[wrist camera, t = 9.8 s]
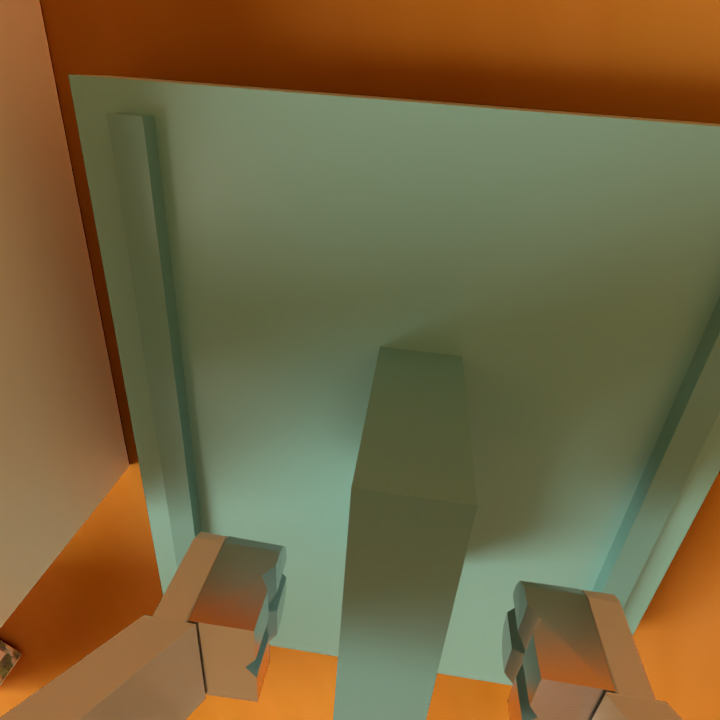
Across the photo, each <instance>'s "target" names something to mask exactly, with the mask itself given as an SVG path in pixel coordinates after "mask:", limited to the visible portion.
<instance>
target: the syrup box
mask: <svg viewBox="0 0 720 720" xmlns="http://www.w3.org/2000/svg"><path fill="white" fill-rule="evenodd" d="M20 656H21V653H20V652H19V651H17V650H15V649H14V648H12V647H10V646H9V645H7V644H6V643H4V642H2V641H1V640H0V685H1V684H2V683H3V681H4V680H5V678H6V677H7V676H8V674H9V673H10V671H11V670H12V669H13V667H14V666H15V664H16V663H17V661H18V660H19V658H20Z"/></svg>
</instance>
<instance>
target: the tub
mask: <svg viewBox="0 0 720 720" xmlns="http://www.w3.org/2000/svg"><path fill="white" fill-rule="evenodd" d="M128 467H129V461H128V456H127V451H126V446H125V441H124V436H123V430H122V425H121V420H120V415H119V410H118V405H117V399H116V394H115V389H114V384H113V379H112V373H111V368H110V363H109V358H108V353H107V348H106V342H105V337H104V332H103V327H102V322H101V317H100V311H99V306H98V301H97V296H96V291H95V285H94V280H93V275H92V270H91V265H90V260H89V254H88V249H87V244H86V239H85V234H84V229H83V223H82V218H81V213H80V208H79V203H78V198H77V192H76V187H75V182H74V177H73V172H72V166H71V161H70V156H69V151H68V146H67V141H66V135H65V130H64V125H63V120H62V115H61V110H60V104H59V99H58V94H57V89H56V84H55V79H54V73H53V68H52V63H51V58H50V53H49V47H48V42H47V37H46V32H45V27H44V22H43V16H42V11H41V6H40V1H39V0H0V628H1V627H2V626H3V624H4V623H5V622H6V621H7V619H8V618H9V617H10V616H11V614H12V613H13V612H14V611H15V609H16V608H17V607H18V606H19V604H20V603H21V602H22V601H23V599H24V598H25V597H26V596H27V594H28V593H29V592H30V591H31V589H32V588H33V587H34V585H35V584H36V583H37V582H38V580H39V579H40V578H41V577H42V575H43V574H44V573H45V572H46V570H47V569H48V568H49V567H50V565H51V564H52V563H53V562H54V560H55V559H56V558H57V557H58V555H59V554H60V553H61V551H62V550H63V549H64V548H65V546H66V545H67V544H68V543H69V541H70V540H71V539H72V538H73V536H74V535H75V534H76V533H77V531H78V530H79V529H80V528H81V526H82V525H83V524H84V523H85V521H86V520H87V519H88V517H89V516H90V515H91V514H92V512H93V511H94V510H95V509H96V507H97V506H98V505H99V504H100V502H101V501H102V500H103V499H104V497H105V496H106V495H107V494H108V492H109V491H110V490H111V489H112V487H113V486H114V485H115V483H116V482H117V481H118V480H119V478H120V477H121V476H122V475H123V473H124V472H125V471H126V470H127V468H128Z"/></svg>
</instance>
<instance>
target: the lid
mask: <svg viewBox="0 0 720 720" xmlns="http://www.w3.org/2000/svg"><path fill="white" fill-rule="evenodd" d="M68 76H69V82H70V87H71V93H72V98H73V104H74V109H75V115H76V120H77V126H78V131H79V137H80V142H81V148H82V153H83V158H84V164H85V169H86V175H87V180H88V186H89V191H90V197H91V202H92V208H93V213H94V219H95V224H96V230H97V235H98V241H99V246H100V252H101V257H102V263H103V268H104V274H105V279H106V285H107V290H108V296H109V301H110V307H111V312H112V318H113V323H114V329H115V334H116V340H117V345H118V351H119V356H120V362H121V367H122V373H123V378H124V384H125V389H126V395H127V400H128V406H129V411H130V417H131V422H132V428H133V433H134V439H135V444H136V450H137V455H138V461H139V466H140V472H141V477H142V482H143V488H144V493H145V499H146V504H147V510H148V515H149V521H150V526H151V532H152V537H153V543H154V548H155V554H156V559H157V565H158V570H159V576H160V581H161V587H162V592H163V595H164V593H165V592H166V590H167V588H168V586H169V584H170V582H171V580H172V578H173V576H174V575H175V573H176V571H177V569H178V567H179V565H180V563H181V561H182V560H183V558H184V556H185V554H186V552H187V550H188V548H189V546H190V545H191V543H192V541H193V539H194V538H195V537H196V536H197V535H198V534H199V533H200V532H206V533H212V534H218V535H224V536H231V537H236V538H242V539H248V540H253V541H259V542H264V543H270V544H275V545H281V546H285V547H286V563H285V567H284V570H283V574H284V575H285V576H286V578H287V579H286V596H285V603H284V608H283V613H282V618H281V622H280V626H279V629H278V633H277V635H276V636H275V637H274V638H273V639H271V640H270V641H269V645H271V646H277V647H283V648H289V649H295V650H301V651H307V652H313V653H320V654H326V655H332V656H338V664H337V677H336V690H335V703H334V716H333V720H426V718H427V713H428V709H429V705H430V701H431V697H432V693H433V689H434V684H435V680H436V676H437V673H440V674H446V675H452V676H458V677H464V678H470V679H476V680H482V681H488V682H494V683H500V684H507V685H513V684H512V682H511V681H510V680H509V678H508V677H507V676H506V674H505V673H504V668H503V658H502V635H503V625H504V622H505V618H506V614H507V612H508V611H510V610H512V609H513V608H515V607H514V600H513V592H514V590H515V587H516V584H517V583H518V582H519V581H526V582H534V583H541V584H548V585H555V586H563V587H570V588H577V589H580V590H587V591H593V592H600V593H606V594H613V595H615V596H616V597H617V599H618V600H619V601H620V604H621V606H622V609H623V612H624V614H625V617H626V620H627V623H628V625H629V628H630V631H631V634H632V636H633V634H634V632H635V630H636V628H637V626H638V624H639V622H640V621H641V619H642V617H643V615H644V613H645V611H646V609H647V607H648V605H649V603H650V602H651V600H652V598H653V596H654V594H655V592H656V590H657V588H658V586H659V584H660V583H661V581H662V579H663V577H664V575H665V573H666V571H667V569H668V567H669V566H670V564H671V562H672V560H673V558H674V556H675V554H676V552H677V550H678V548H679V547H680V545H681V543H682V541H683V539H684V537H685V535H686V533H687V531H688V529H689V528H690V526H691V524H692V522H693V520H694V518H695V516H696V514H697V512H698V511H699V509H700V507H701V505H702V503H703V501H704V499H705V497H706V495H707V493H708V492H709V490H710V488H711V486H712V484H713V482H714V480H715V478H716V476H717V474H718V473H719V471H720V124H715V123H703V122H690V121H678V120H665V119H652V118H640V117H627V116H615V115H602V114H589V113H577V112H564V111H552V110H539V109H527V108H514V107H501V106H489V105H476V104H464V103H451V102H438V101H426V100H413V99H401V98H388V97H376V96H363V95H350V94H338V93H325V92H313V91H300V90H287V89H275V88H262V87H250V86H237V85H224V84H212V83H199V82H187V81H174V80H162V79H149V78H136V77H124V76H111V75H70V74H68Z"/></svg>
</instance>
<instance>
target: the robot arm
mask: <svg viewBox="0 0 720 720" xmlns="http://www.w3.org/2000/svg"><path fill="white" fill-rule="evenodd" d="M285 563H286V547H285V546H281V545H275V544H270V543H264V542H259V541H253V540H248V539H242V538H236V537H231V536H224V535H218V534H212V533H206V532H200V533H199V534H198V535H197V536H196V537H195V538H194V539H193V541H192V543H191V545H190V546H189V548H188V550H187V552H186V554H185V556H184V558H183V560H182V561H181V563H180V565H179V567H178V569H177V571H176V573H175V575H174V576H173V578H172V580H171V582H170V584H169V586H168V588H167V590H166V592H165V593H164V595H163V597H162V599H161V601H160V603H159V605H158V607H157V608H156V610H155V612H154V614H153V616H147V615H143V616H141V617H140V618H139V619H137V620H136V621H135V622H133V623H132V624H130V625H129V626H128V627H126V628H125V629H123V630H122V631H121V632H119V633H118V634H116V635H115V636H114V637H112V638H111V639H109V640H108V641H107V642H105V643H104V644H102V645H101V646H100V647H98V648H97V649H95V650H94V651H93V652H91V653H90V654H88V655H87V656H86V657H84V658H83V659H81V660H80V661H79V662H77V663H76V664H74V665H73V666H72V667H70V668H69V669H67V670H66V671H65V672H63V673H62V674H60V675H59V676H58V677H56V678H55V679H53V680H52V681H51V682H49V683H48V684H46V685H45V686H44V687H42V688H41V689H39V690H38V691H37V692H35V693H34V694H32V695H31V696H30V697H28V698H27V699H26V700H24V701H23V702H21V703H20V704H19V705H17V706H16V707H14V708H13V709H12V710H10V711H9V712H7V713H6V714H5V715H3V716H2V717H0V720H186V718H187V717H188V716H189V715H190V714H191V713H192V712H193V711H194V710H195V709H196V708H197V707H198V706H199V705H200V704H201V703H202V702H203V701H204V699H205V698H206V696H205V694H207V695H214V696H221V697H227V698H234V699H241V700H248V701H255V702H258V699H259V696H260V692H261V689H262V685H263V682H264V678H265V675H266V671H267V668H268V665H269V661H270V648H269V641H270V640H271V639H273V638H274V637H275V636H276V635H277V633H278V629H279V626H280V622H281V618H282V613H283V608H284V603H285V596H286V579H287V578H286V576H285V575H284V574H283V570H284V567H285ZM513 600H514V607H515V608H513V609H512V610H510V611H508V612H507V614H506V618H505V622H504V625H503V635H502V658H503V668H504V673H505V674H506V676H507V677H508V678H509V680H510V681H511V682H512V684H513V686H512V689H511V692H510V695H509V698H508V700H507V702H508V710H509V718H510V720H683V719H682V718H681V717H680V716H679V715H678V714H677V713H676V712H675V711H674V710H673V709H672V707H671V706H670V705H669V704H668V703H667V702H664V701H659V700H656V699H655V696H654V693H653V691H652V688H651V685H650V683H649V680H648V677H647V674H646V672H645V669H644V666H643V663H642V661H641V658H640V655H639V653H638V650H637V647H636V644H635V642H634V639H633V636H632V634H631V631H630V628H629V625H628V623H627V620H626V617H625V614H624V612H623V609H622V606H621V604H620V601H619V600H618V599H617V597H616V596H615V595H613V594H606V593H600V592H593V591H587V590H580V589H577V588H570V587H563V586H555V585H548V584H541V583H534V582H526V581H519V582H518V583H517V584H516V587H515V590H514V592H513Z"/></svg>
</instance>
